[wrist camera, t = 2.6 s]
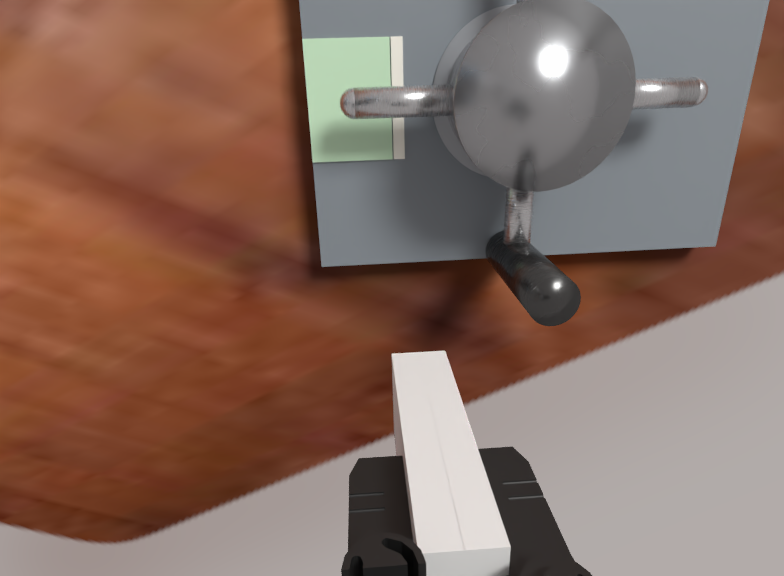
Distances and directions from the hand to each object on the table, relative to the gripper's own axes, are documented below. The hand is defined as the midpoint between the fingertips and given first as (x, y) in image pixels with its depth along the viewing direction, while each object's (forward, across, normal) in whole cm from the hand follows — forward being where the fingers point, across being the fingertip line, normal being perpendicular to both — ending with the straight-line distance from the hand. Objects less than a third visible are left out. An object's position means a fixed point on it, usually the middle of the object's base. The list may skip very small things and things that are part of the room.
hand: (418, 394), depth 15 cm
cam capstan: (+11, +6, +8) cm, 15 cm away
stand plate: (+13, +6, +7) cm, 16 cm away
